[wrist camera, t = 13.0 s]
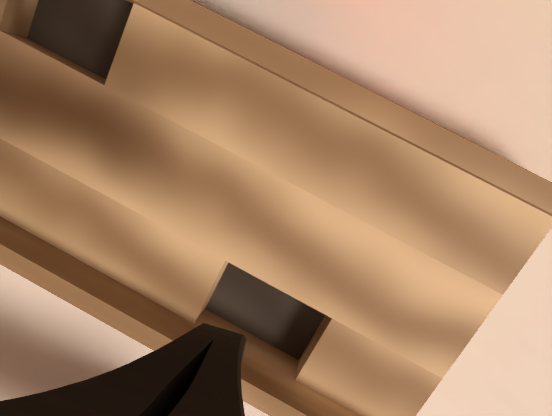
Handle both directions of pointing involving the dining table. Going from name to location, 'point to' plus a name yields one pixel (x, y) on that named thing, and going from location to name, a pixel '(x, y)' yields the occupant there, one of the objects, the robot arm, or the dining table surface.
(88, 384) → the robot arm
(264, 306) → the trap box
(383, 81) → the dining table surface
